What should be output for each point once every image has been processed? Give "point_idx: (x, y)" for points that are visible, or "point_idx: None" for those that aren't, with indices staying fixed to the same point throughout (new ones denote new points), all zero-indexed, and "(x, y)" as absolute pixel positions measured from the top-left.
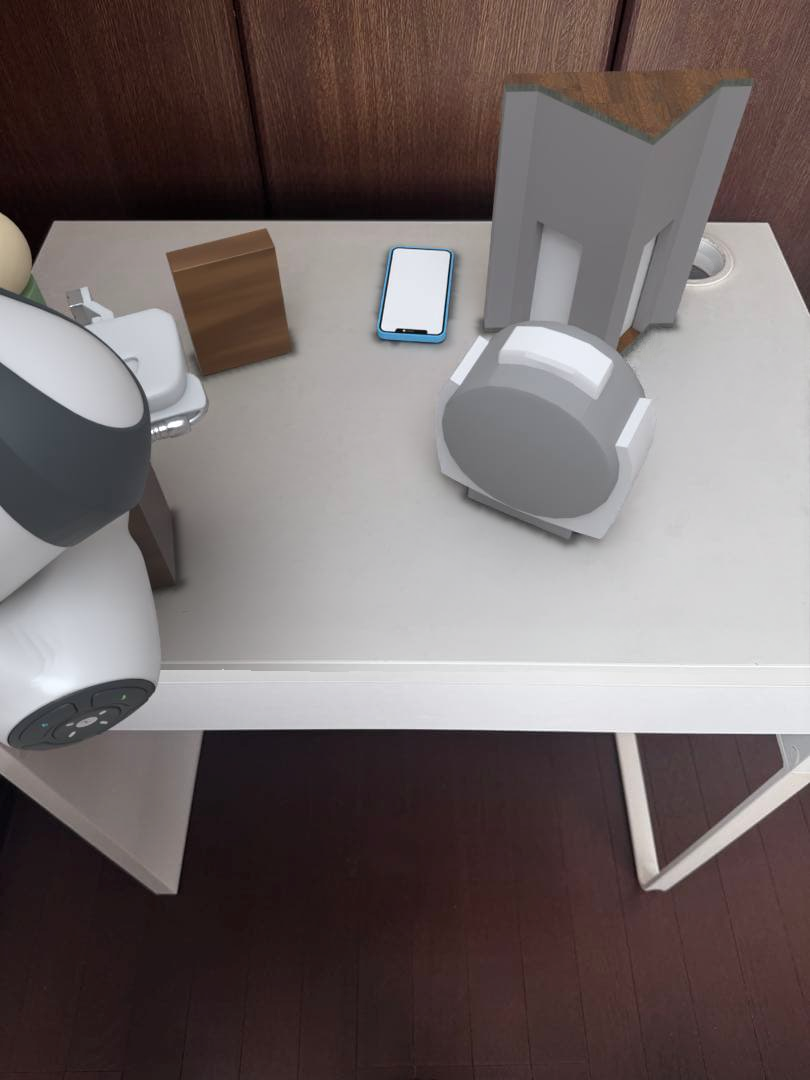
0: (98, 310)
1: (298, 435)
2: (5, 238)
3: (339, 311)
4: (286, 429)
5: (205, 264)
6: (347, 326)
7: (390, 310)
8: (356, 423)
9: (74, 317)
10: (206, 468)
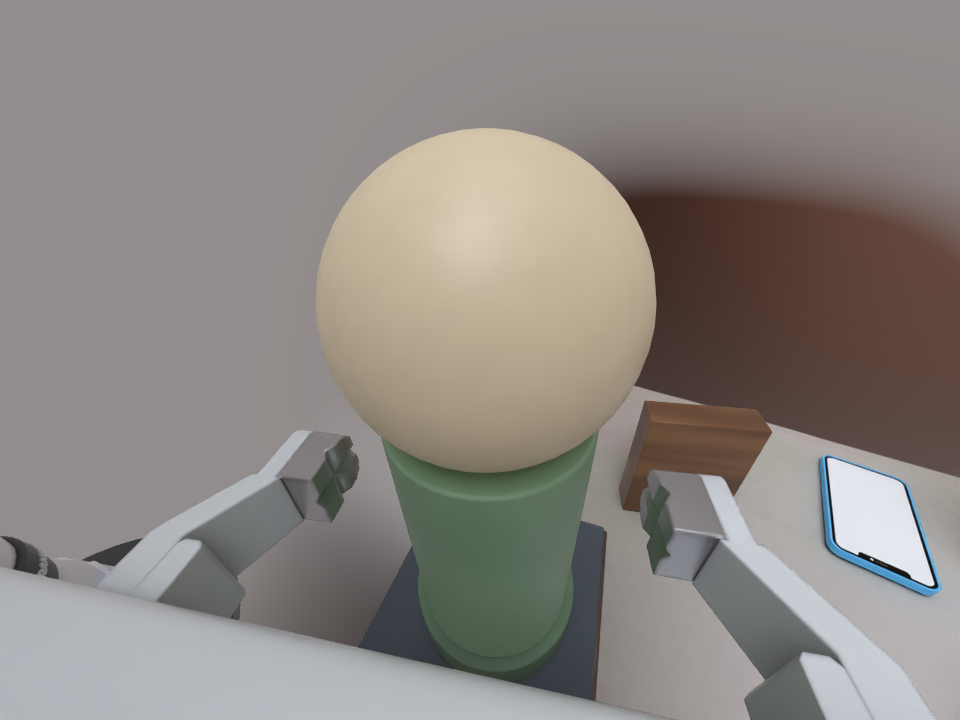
0: (814, 615)
1: (733, 645)
2: (627, 243)
3: (769, 498)
4: (716, 626)
5: (687, 425)
6: (781, 518)
7: (842, 524)
8: None
9: (660, 550)
10: (613, 631)
